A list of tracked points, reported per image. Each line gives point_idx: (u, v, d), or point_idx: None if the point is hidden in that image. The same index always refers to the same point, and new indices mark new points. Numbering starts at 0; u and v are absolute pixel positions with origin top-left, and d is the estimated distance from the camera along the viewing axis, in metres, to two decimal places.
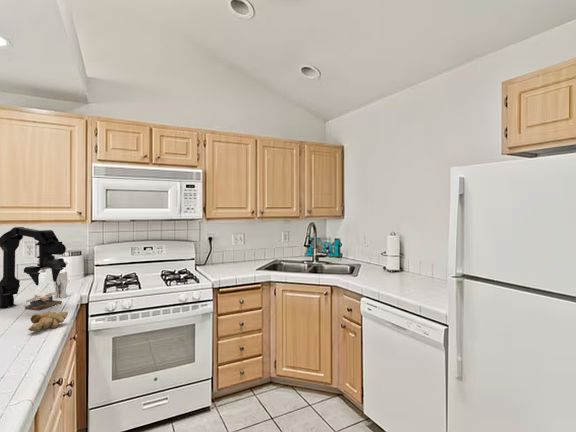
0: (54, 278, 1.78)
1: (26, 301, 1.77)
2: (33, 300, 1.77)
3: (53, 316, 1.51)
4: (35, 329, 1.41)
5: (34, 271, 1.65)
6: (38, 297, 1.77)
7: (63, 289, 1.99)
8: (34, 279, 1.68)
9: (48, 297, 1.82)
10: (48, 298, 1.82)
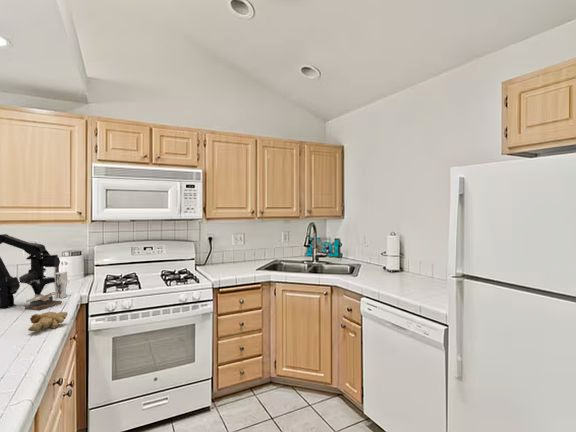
0: None
1: (26, 301, 1.77)
2: (33, 300, 1.77)
3: (53, 316, 1.51)
4: (35, 329, 1.41)
5: (20, 280, 1.81)
6: (38, 297, 1.77)
7: (63, 289, 1.99)
8: None
9: (48, 297, 1.82)
10: (48, 298, 1.82)
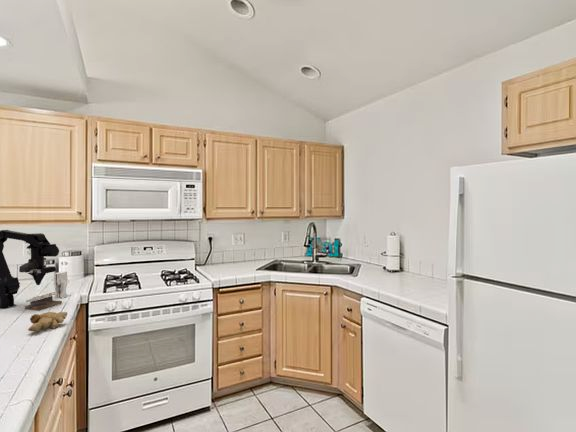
0: None
1: (26, 301, 1.77)
2: (33, 300, 1.77)
3: (53, 316, 1.51)
4: (35, 329, 1.41)
5: (20, 270, 1.78)
6: (38, 297, 1.77)
7: (63, 289, 1.99)
8: None
9: None
10: (48, 294, 1.82)
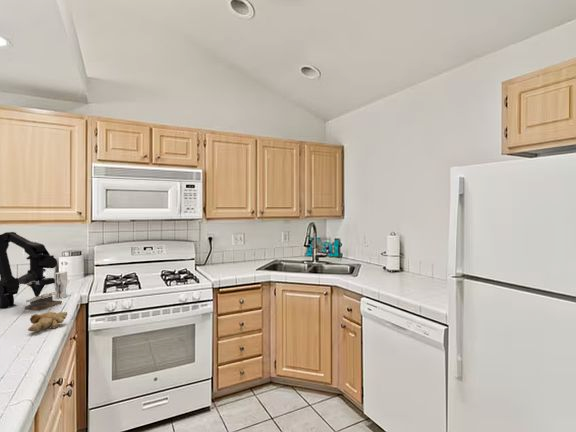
0: None
1: (26, 301, 1.77)
2: (33, 300, 1.77)
3: (53, 316, 1.50)
4: (35, 329, 1.40)
5: None
6: (38, 297, 1.77)
7: (63, 289, 1.99)
8: None
9: (47, 293, 1.82)
10: (48, 294, 1.82)
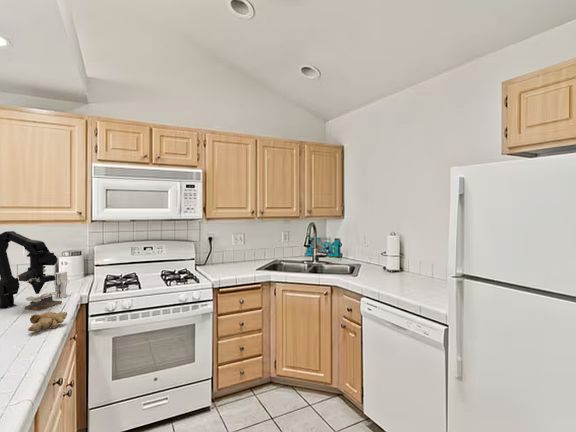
0: None
1: (26, 298, 1.77)
2: None
3: (53, 316, 1.50)
4: (34, 329, 1.40)
5: None
6: (38, 300, 1.77)
7: (63, 289, 1.99)
8: None
9: (47, 293, 1.82)
10: (47, 294, 1.82)
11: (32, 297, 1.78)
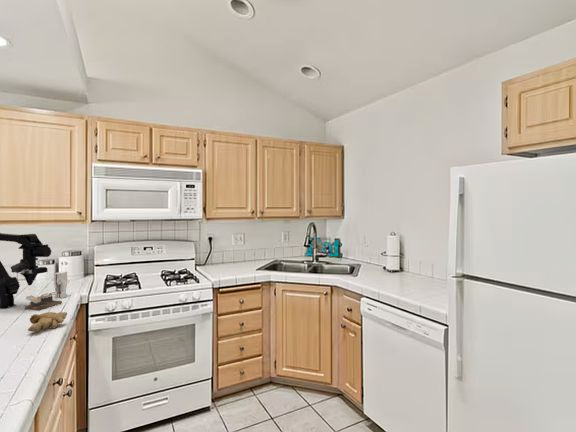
0: None
1: (26, 297, 1.77)
2: None
3: (52, 316, 1.50)
4: (34, 329, 1.40)
5: None
6: (38, 301, 1.77)
7: (63, 289, 1.99)
8: None
9: (47, 293, 1.82)
10: (47, 294, 1.82)
11: (32, 297, 1.78)
